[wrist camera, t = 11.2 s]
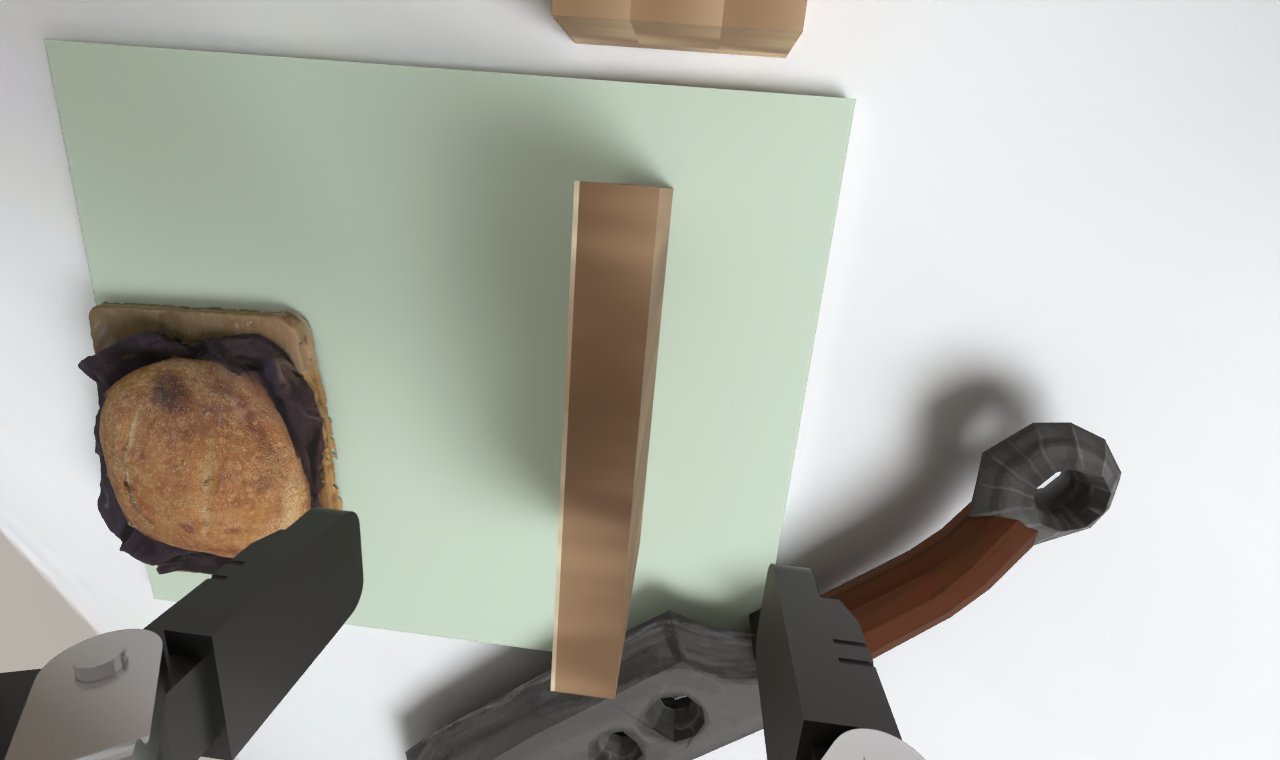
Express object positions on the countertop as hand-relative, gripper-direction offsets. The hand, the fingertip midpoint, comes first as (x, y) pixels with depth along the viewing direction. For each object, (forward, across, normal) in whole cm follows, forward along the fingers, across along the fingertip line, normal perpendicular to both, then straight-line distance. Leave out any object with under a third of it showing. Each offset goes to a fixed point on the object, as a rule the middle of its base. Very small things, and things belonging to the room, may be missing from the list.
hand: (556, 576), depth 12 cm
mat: (+10, +6, 0) cm, 11 cm away
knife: (+9, -4, +10) cm, 14 cm away
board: (+5, 0, +5) cm, 7 cm away
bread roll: (+9, +14, +3) cm, 17 cm away
